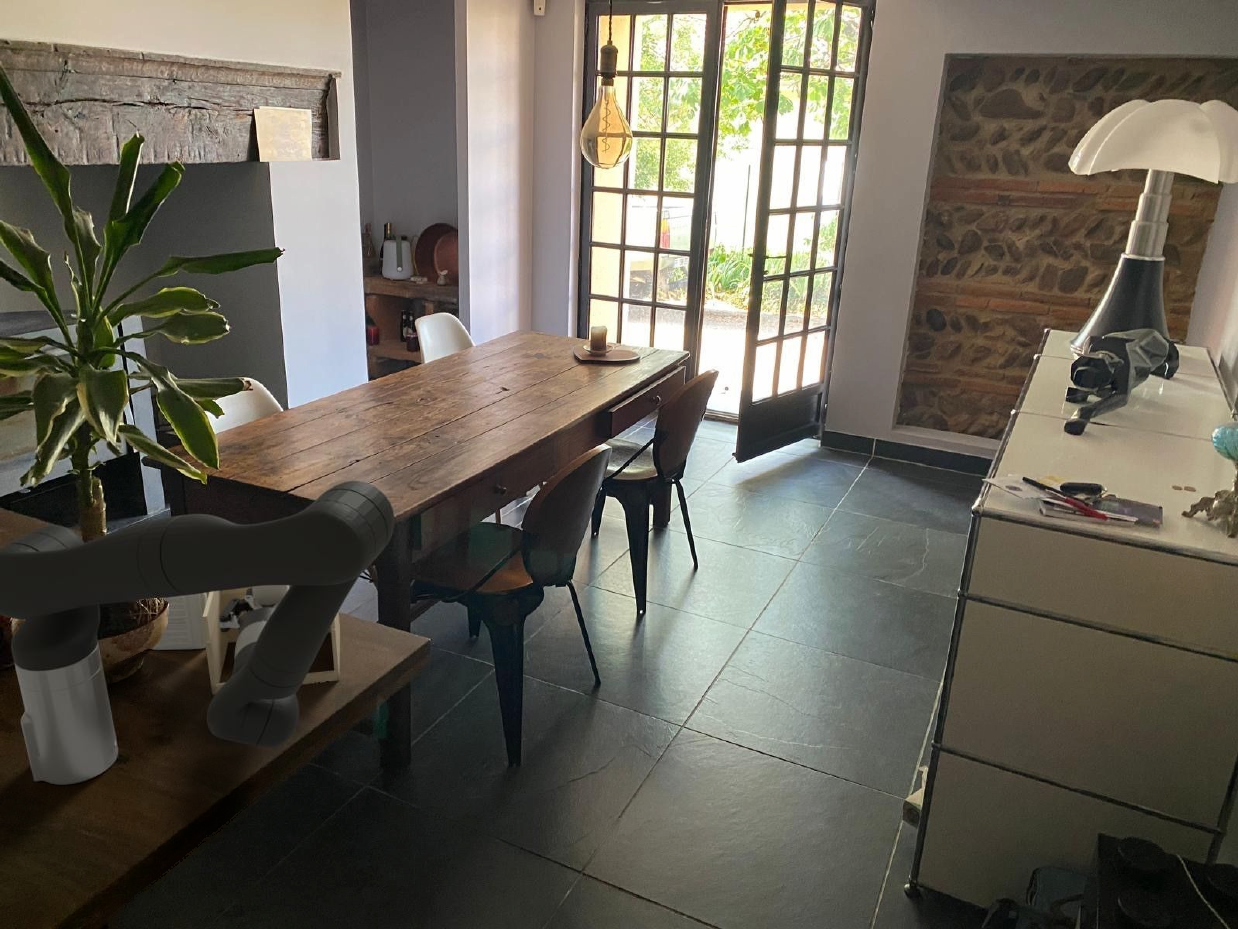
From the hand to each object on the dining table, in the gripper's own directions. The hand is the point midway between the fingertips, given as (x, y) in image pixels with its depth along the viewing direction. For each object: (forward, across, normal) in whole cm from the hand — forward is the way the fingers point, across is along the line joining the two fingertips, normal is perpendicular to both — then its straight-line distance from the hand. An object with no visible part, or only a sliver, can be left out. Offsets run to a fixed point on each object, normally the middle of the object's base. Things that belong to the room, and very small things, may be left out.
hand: (273, 588), depth 146 cm
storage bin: (-3, 0, +12) cm, 12 cm away
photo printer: (+5, +16, +12) cm, 20 cm away
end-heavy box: (-3, 0, +7) cm, 7 cm away
